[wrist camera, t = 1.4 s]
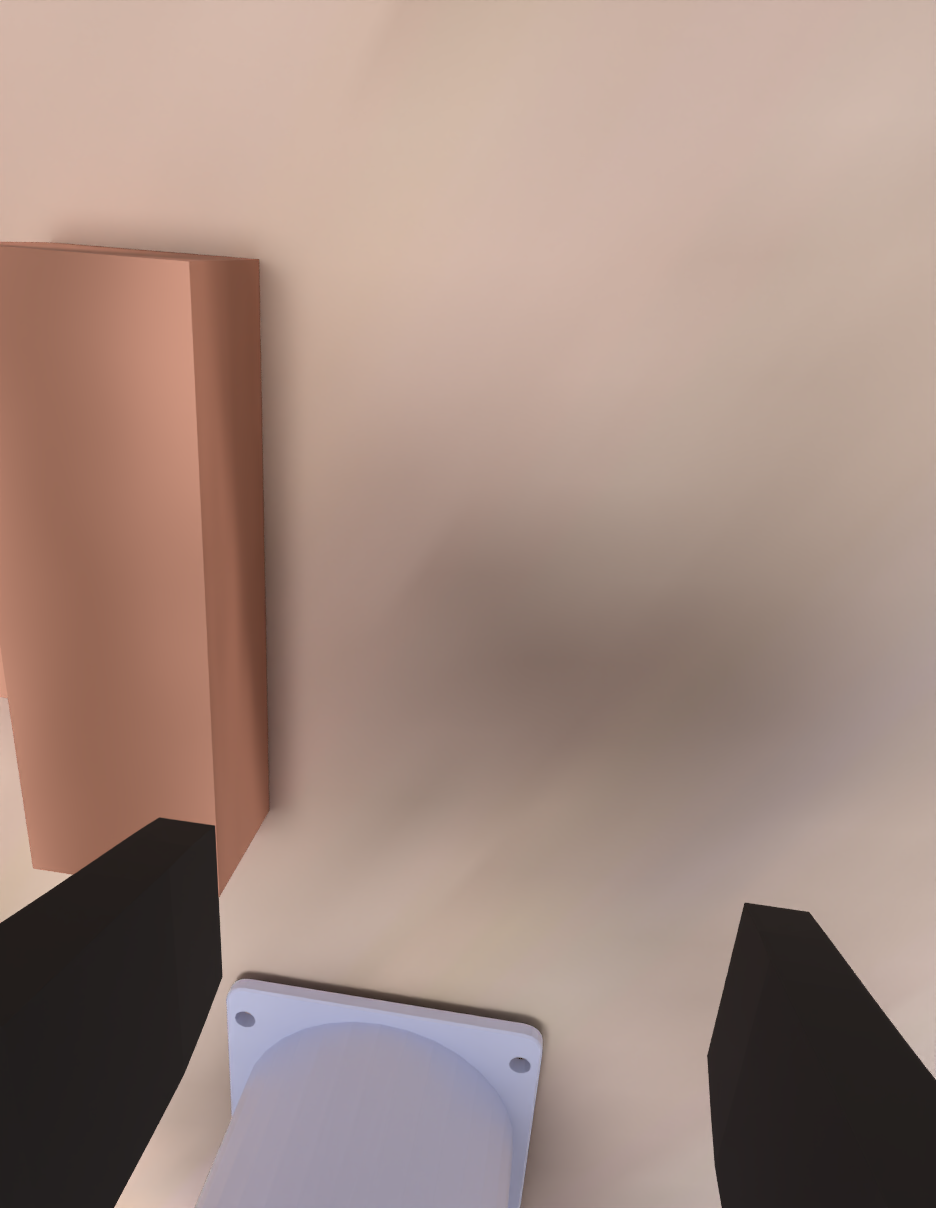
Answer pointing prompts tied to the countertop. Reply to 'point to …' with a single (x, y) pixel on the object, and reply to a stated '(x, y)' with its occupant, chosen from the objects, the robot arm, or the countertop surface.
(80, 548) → the t block
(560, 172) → the countertop surface
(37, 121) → the countertop surface
